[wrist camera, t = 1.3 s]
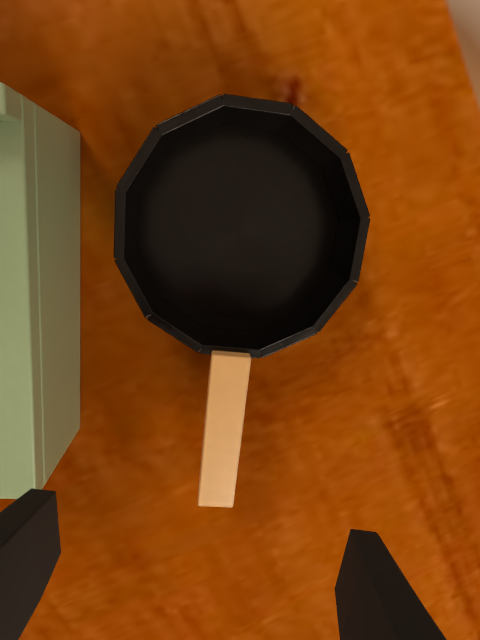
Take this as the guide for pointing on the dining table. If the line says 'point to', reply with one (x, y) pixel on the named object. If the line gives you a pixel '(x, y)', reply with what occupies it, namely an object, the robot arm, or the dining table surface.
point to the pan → (238, 246)
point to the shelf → (37, 292)
